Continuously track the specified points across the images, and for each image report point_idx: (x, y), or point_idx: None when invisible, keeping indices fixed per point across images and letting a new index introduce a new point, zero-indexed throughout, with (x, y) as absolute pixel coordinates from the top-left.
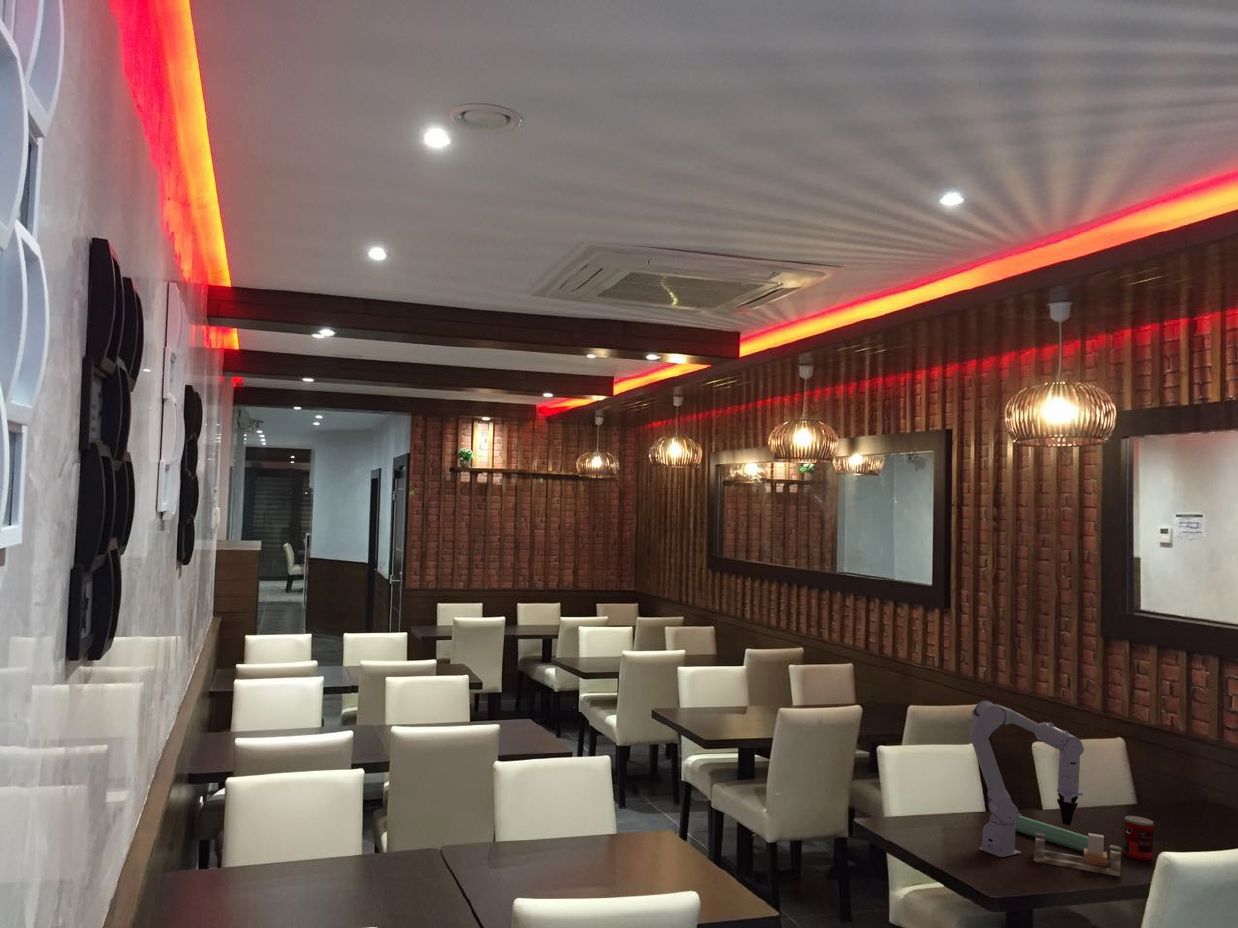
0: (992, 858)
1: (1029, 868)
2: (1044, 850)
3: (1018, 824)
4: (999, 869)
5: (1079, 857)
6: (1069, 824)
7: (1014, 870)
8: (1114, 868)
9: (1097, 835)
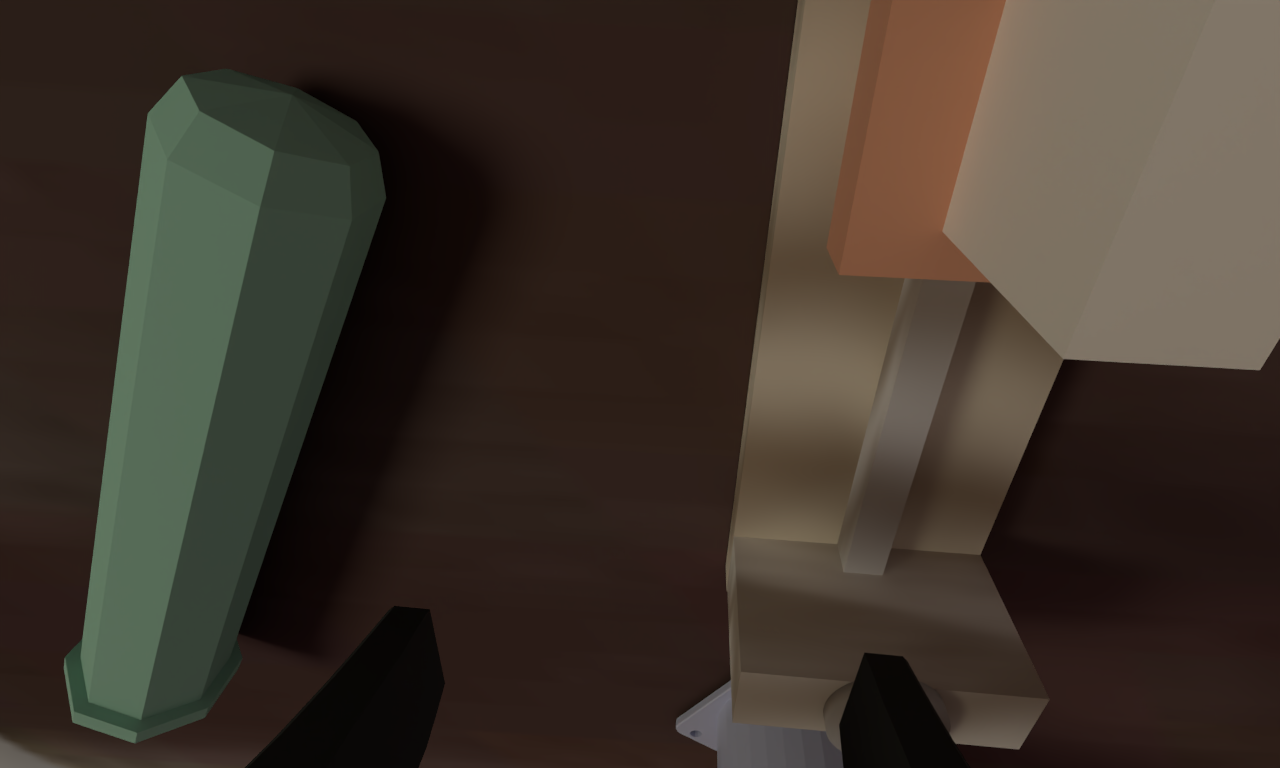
0: (990, 757)
1: (1168, 616)
2: (855, 570)
3: (216, 668)
4: (1237, 748)
5: (966, 295)
6: (907, 677)
7: (1244, 689)
8: None
9: (1249, 173)
